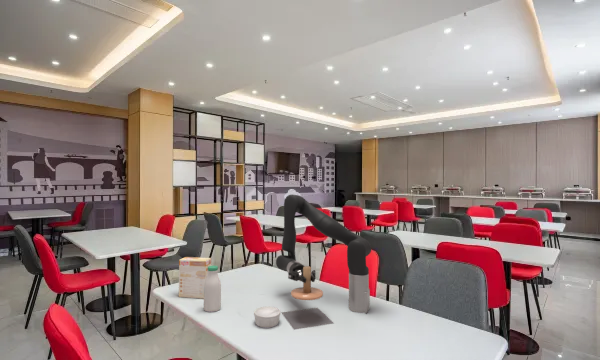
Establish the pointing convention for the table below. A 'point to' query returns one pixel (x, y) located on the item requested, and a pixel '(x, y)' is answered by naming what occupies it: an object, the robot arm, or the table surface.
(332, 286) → the table surface
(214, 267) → the milk bottle
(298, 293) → the lid
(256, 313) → the ramekin
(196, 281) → the coffeecake box
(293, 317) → the mat
